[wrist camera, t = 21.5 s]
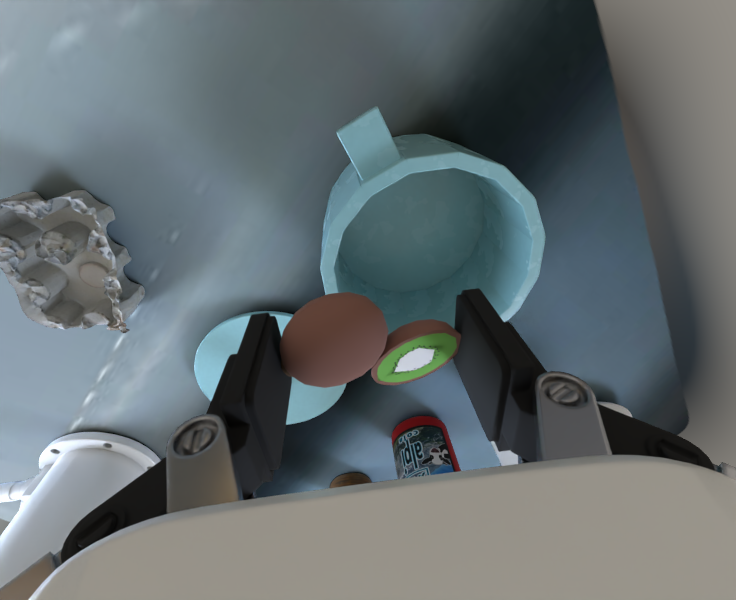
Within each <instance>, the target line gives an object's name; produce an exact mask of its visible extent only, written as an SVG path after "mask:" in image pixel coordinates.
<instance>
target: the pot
mask: <svg viewBox="0 0 736 600" xmlns="http://www.w3.org/2000/svg"><path fill="white" fill-rule="evenodd" d="M336 132H337V136H338V137H339V139H340V141H341V143H342V145H343V147H344V148H345V150H346V152H347V154H348V156H349V158H350V159H351V162H350V163H349V165H348V166H347V167H346V168H345V170H344V171H343V172H342V173H341V175H340V177H339V178H338V180H337V181H336V183H335V185H334V186H333V187H332V190H331V193H330V197H329V201H328V204H327V210H326V214H325V219H324V225H323V238H322V251H321V264H320V269H321V274H322V279H323V284H324V289H325V294H326V295H327V294H332V293H343V292H351V293H355V294H359V295H363V296H366V297H368V298H369V299H370V300H371V301H372V302H373V303H374V304H375V305H376V306H377V307H378V308H379V309H380V310H381V311H382V312H383V315H384V318H385V321H386V324H387V327H388V331H389V332H388V335H389V334H390V333H392V332H393V331H394V330H396V329H397V328H399V327H400V326H402V325H405V324H408V323H411V322H414V321H416V320H427V319H434V320H438V321H443V322H447V323H448V324H449V325H450V326H451V327H453V328H454V326H455V309H456V297H457V295H460V294H461V292H462V291H463V290H468V289H476V288H479V289H480V290H481V291H482V292H483V294H484V295H485V297H486V298H487V299H488V301H489V302H490V303H491V305H492V306H493V308H494V309H495V310H496V312H497V313H498V314H499V316H500V317H501V319H502V320H503V321H504V322H506V321H507V320H508V319H510V318H511V317H512V316H513V315H514V314H515V313H517V312H518V310H519V309H520V307H521V306H522V304H523V302H524V301H525V299H526V297H527V296H528V294H529V292H530V291H531V289H532V287H533V286H534V284H535V282H536V281H537V279H538V276H539V273H540V268H541V262H542V256H543V250H544V244H545V239H546V238H545V237H546V235H545V232H544V228H543V224H542V221H541V217H540V214H539V210H538V206H537V203H536V199H535V198H534V196H533V195H532V194H531V193H530V191H529V190H528V189H527V188H526V187H525V186H524V185H523V184H522V183H521V182H520V181H519V180H518V179H517V178H516V177H515V176H514V175H513V174H512V173H511V172H510V171H509V170H508V169H507V168H506V167H505V166H504V165H502V164H499V163H497V162H495V161H493V160H491V159H489V158H487V157H485V156H482V155H480V154H478V153H476V152H474V151H472V150H470V149H467V148H465V147H463V146H461V145H459V144H456V143H453V142H450V141H447V140H444V139H441V138H438V137H434V136H431V135H428V134H412V135H402V136H397V137H392V136H391V134H390V132H389V130H388V127H387V125H386V123H385V121H384V119H383V117H382V114H381V112H380V110H379V108H378V107H376V106H374V107H372V108H371V109H369V110H368V111H366V112H364V113H363V114H361V115H360V116H358V117H357V118H355V119H353V120H352V121H350V122H349V123H347V124H346V125H344V126H342V127H341V128H339V129H338V130H337V131H336Z"/></svg>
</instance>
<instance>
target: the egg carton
mask: <svg viewBox="0 0 736 600" xmlns="http://www.w3.org/2000/svg"><path fill="white" fill-rule="evenodd" d="M115 219H116V218H115V215H114V211H113V209H112V208H111V207H110V206H108V205H105V204H102V203H100V202H99V201H97V200H95V199H94V198H93V197H92V195H90V194H89V193H88V192H87V191H84V190H79V191H75V190H73V191H72V192H69V193H67V194H65V195H62V196H59V197H56V198H53V199H50V200H48V201H46V200H44V199H42V198H41V197H40V196H39V195H38V194H37V193H36V192H22V193H20V194H17V195H13V196H11V197H8V198H5V199H1V200H0V267H1V268H2V270H3V271H4V273H5V275H6V277H7V279H8V281H9V283H10V284H11V285H12V286H13V287H14V289H15V291H16V293H17V296H18V299H19V302H20V305H21V308H22V310H23V312H24V313H25V315H26V316H27V317H28V318H30V319H31V320H33V321H35V322H37V323H39V324H42V325H44V326H46V327H50V328H62V329H68V328H73V327H82V329H87V328H90V327H92V326H94V325H106V324H108V327H107V328H106V329H107V330H121V332H122V333H126V332H128V331H129V329H126V324H125V323H123V322H124V321H125V320H126V319H127V318H128V317H129V316H130V315H131V314H132V313H133V312H134V311H135V309H136V308H137V305H138V304H139V303H140V302H141V300H142V299H143V297H144V295H145V290H144V288H143V287H142V286H141V285H139V284H136V283H134V282H131V281H129V280H128V278H127V277H126V276H125V274H124V272H123V267H124V266H125V265H126V264H127V263H129V262H130V261H131V257H130V256H129V254H128V251H127V249H126V248H125V247H124V246H120V245H117V244H116V243H115V242H113V241H112V240H111V239H110V238H109V236H108V234H107V229H106V227H107V224H108V223H109V222H111V221H113V220H115Z"/></svg>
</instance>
